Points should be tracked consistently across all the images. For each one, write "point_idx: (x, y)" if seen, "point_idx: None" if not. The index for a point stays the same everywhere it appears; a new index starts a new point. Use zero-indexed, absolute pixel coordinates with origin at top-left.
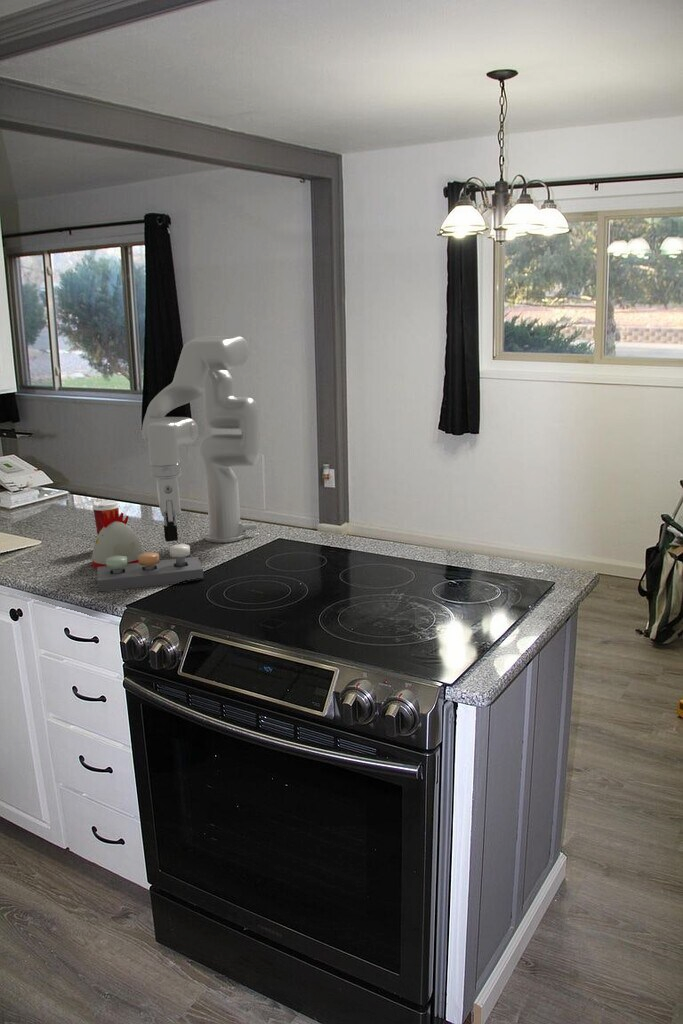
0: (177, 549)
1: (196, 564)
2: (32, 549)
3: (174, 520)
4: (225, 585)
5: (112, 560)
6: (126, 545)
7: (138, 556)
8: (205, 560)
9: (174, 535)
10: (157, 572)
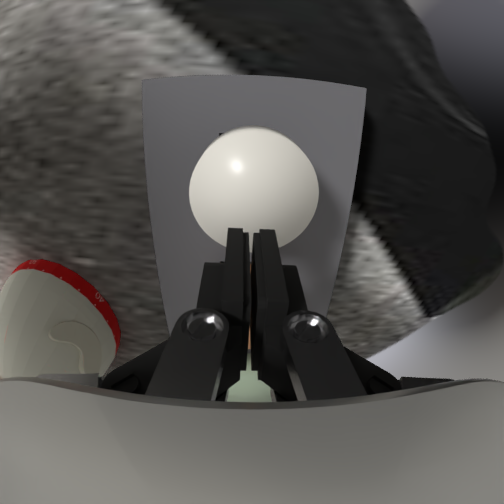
0: (306, 214)
1: (281, 96)
2: None
3: (349, 370)
4: (432, 46)
5: (262, 399)
6: (72, 350)
7: (248, 348)
8: (78, 56)
9: (297, 271)
10: (320, 264)
